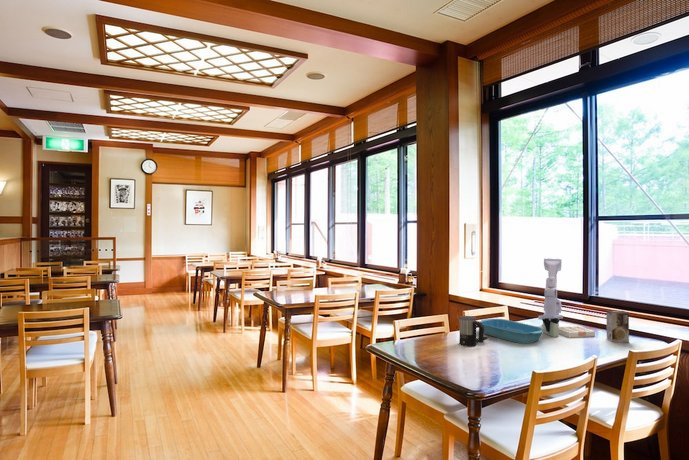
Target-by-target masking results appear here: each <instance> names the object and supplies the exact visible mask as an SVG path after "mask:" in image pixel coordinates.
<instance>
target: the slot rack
mask: <svg viewBox="0 0 689 460" xmlns="http://www.w3.org/2000/svg"><path fill="white" fill-rule="evenodd" d="M595 332H596V331H594V330H591V329H589V328H586V327H583V326H580V325H572V326H571V325H569V326H559V327H558V335H561V336H564V337H567V338H569V339H570V338H585V337H586V338H587V337H595V336H596V335H595V334H596V333H595Z"/></svg>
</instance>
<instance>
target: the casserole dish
mask: <svg viewBox="0 0 689 460" xmlns="http://www.w3.org/2000/svg"><path fill="white" fill-rule="evenodd" d="M479 322H481V323H482V324H483V325H484V335H487V336H490V337H493V338H498V339H502V340H505V341H509V342H514V343H516V342H517V343H518V344H530V343H533V342H536V341H538V340H540V338H541V337H542V334H543V327H539V326H535V325H532V324H527V323H524V322H519V321H513V320H510V319H503V318H485V319H481V321H479Z"/></svg>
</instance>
